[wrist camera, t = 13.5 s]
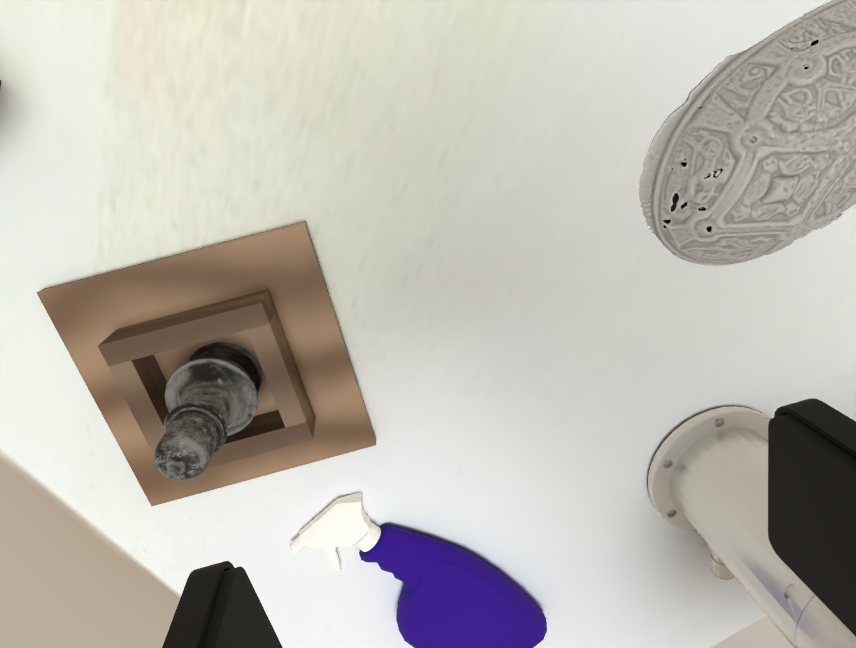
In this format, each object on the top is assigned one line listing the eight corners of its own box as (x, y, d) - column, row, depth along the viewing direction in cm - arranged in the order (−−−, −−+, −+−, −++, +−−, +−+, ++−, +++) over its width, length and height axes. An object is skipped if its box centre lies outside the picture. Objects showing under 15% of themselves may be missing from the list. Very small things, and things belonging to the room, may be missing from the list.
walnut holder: (375, 439, 43) (377, 467, 40) (155, 499, 43) (137, 533, 39) (305, 221, 37) (299, 231, 33) (43, 289, 36) (9, 307, 33)
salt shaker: (220, 425, 40) (168, 542, 29) (163, 368, 38) (82, 471, 27) (283, 382, 40) (254, 484, 29) (228, 322, 38) (173, 407, 26)
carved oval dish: (597, 155, 37) (656, 168, 31) (905, -86, 36) (1030, -121, 30) (679, 312, 44) (740, 347, 38) (940, 117, 42) (1047, 121, 36)
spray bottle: (561, 629, 50) (367, 482, 42) (475, 697, 52) (274, 568, 44) (550, 603, 53) (367, 460, 45) (469, 668, 54) (279, 542, 47)
